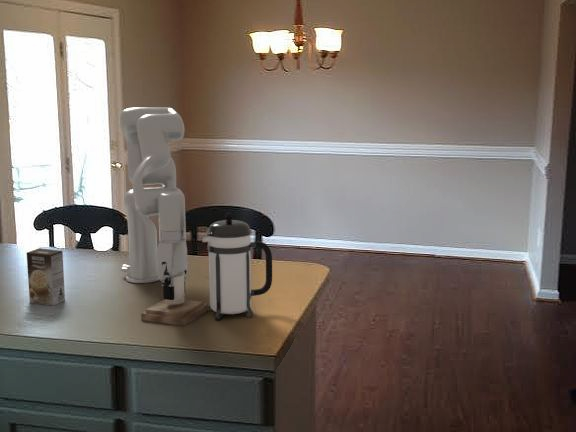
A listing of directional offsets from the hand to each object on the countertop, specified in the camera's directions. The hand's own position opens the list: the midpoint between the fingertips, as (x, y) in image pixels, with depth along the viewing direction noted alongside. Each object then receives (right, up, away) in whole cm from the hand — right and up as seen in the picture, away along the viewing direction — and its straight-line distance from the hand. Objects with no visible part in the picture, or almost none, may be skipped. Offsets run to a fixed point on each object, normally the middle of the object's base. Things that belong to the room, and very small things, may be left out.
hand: (174, 295), depth 201 cm
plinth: (0, -6, +1) cm, 6 cm away
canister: (0, -2, 0) cm, 2 cm away
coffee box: (-42, -4, +15) cm, 44 cm away
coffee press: (+17, -6, +4) cm, 18 cm away
